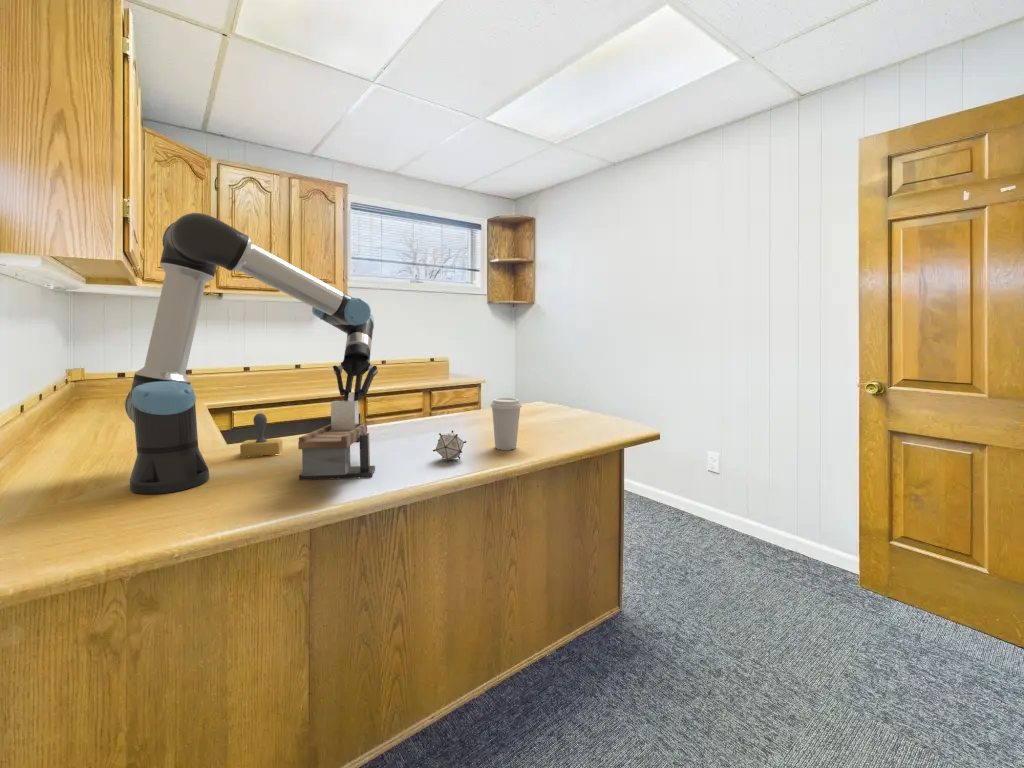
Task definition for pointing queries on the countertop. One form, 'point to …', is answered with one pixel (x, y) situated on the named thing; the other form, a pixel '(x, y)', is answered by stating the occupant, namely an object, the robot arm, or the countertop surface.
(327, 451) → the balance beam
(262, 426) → the rubber stamp
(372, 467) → the pivot stand
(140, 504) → the countertop surface
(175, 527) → the countertop surface
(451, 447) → the game die
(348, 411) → the light grey block
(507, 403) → the coffee cup
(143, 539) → the countertop surface
